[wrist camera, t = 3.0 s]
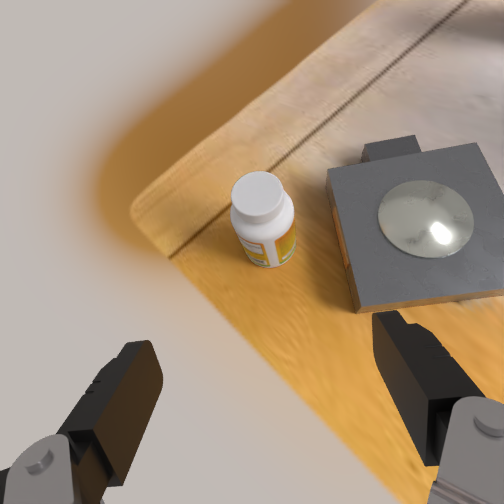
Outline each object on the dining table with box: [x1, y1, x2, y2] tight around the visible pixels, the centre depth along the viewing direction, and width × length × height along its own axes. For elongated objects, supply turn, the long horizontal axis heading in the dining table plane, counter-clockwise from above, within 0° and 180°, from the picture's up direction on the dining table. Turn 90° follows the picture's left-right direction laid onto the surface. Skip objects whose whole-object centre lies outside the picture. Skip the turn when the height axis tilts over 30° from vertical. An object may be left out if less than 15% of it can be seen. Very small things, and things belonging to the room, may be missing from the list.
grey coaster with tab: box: [326, 135, 504, 314], centre depth 28 cm, size 17×14×3 cm
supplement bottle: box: [230, 171, 296, 268], centre depth 26 cm, size 5×5×10 cm
